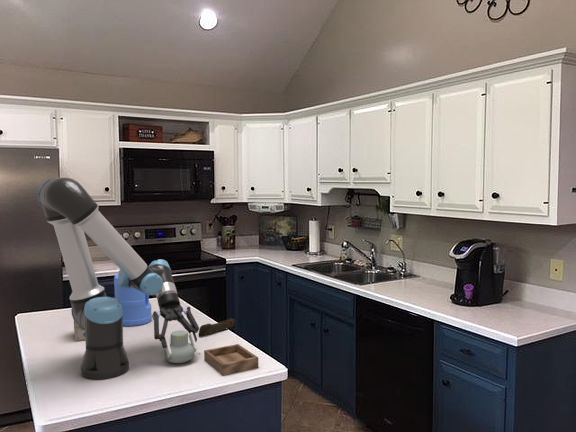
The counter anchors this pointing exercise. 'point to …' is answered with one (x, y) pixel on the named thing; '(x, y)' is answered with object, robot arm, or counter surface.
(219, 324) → the hand tool
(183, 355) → the air freshener
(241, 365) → the tray
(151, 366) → the counter surface
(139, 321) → the water jug
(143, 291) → the robot arm
